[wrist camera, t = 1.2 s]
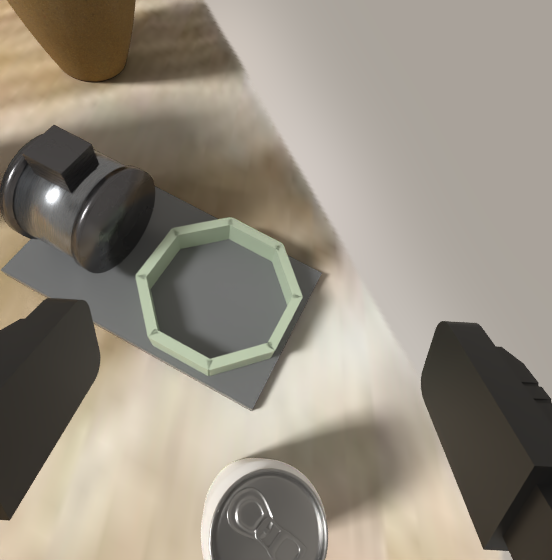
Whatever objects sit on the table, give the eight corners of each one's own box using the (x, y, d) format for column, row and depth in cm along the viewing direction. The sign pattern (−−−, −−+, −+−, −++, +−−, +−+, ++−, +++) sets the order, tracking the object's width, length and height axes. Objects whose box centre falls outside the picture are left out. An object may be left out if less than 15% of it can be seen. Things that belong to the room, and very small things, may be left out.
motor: (33, 253, 33) (-41, 170, 24) (100, 183, 37) (60, 87, 28) (100, 290, 33) (53, 221, 23) (160, 215, 37) (142, 129, 27)
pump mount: (6, 275, 33) (-16, 256, 30) (109, 168, 39) (100, 142, 36) (251, 411, 31) (255, 405, 28) (319, 277, 38) (329, 261, 34)
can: (246, 439, 31) (265, 430, 20) (308, 500, 29) (363, 526, 19) (185, 510, 28) (168, 545, 17) (250, 581, 27) (275, 665, 16)
